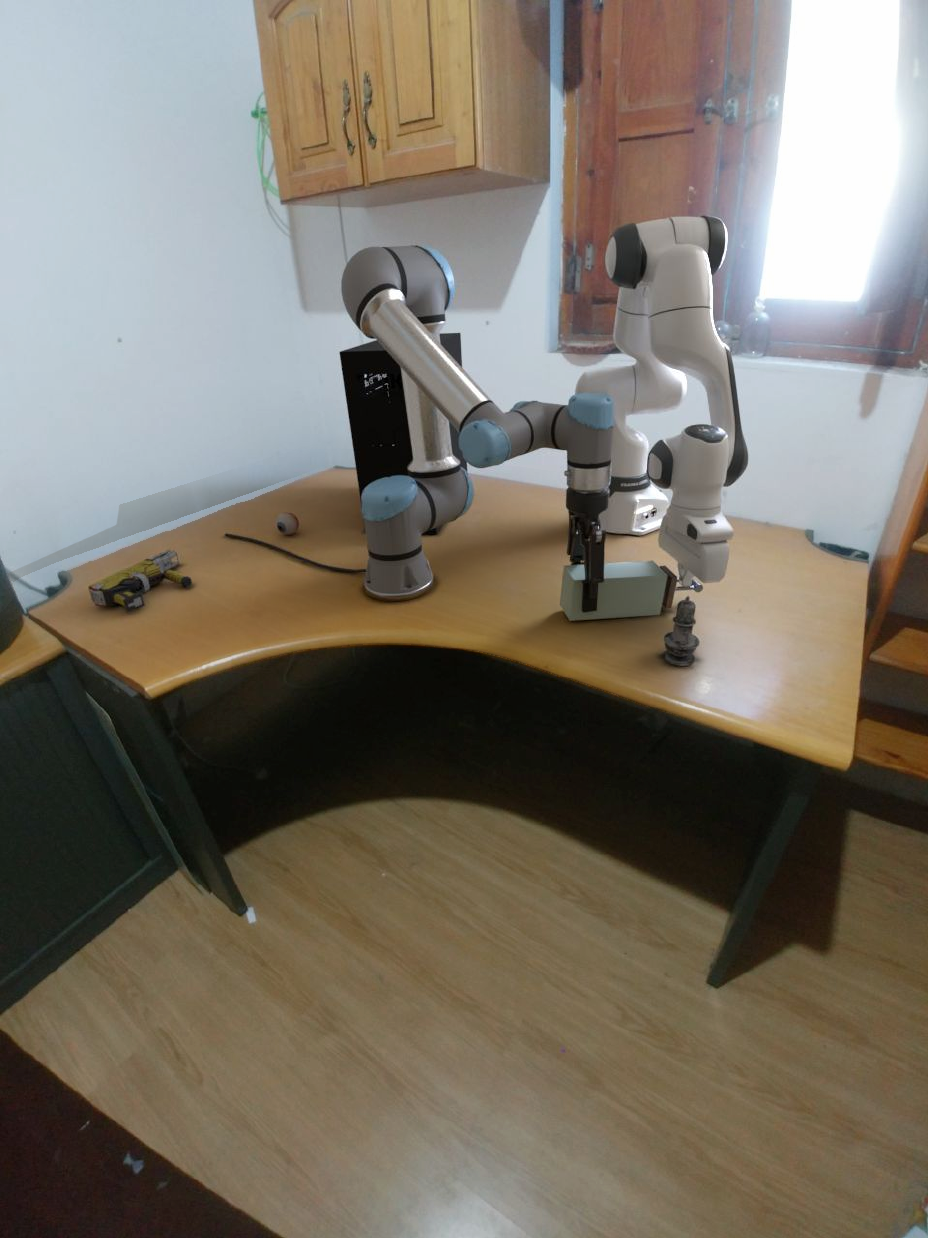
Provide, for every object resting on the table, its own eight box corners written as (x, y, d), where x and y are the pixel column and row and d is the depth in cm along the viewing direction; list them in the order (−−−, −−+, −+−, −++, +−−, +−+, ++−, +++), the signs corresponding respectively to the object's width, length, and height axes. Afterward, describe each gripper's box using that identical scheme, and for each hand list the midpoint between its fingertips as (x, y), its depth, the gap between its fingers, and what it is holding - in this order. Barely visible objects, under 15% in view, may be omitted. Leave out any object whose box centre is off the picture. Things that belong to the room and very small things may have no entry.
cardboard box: (436, 534, 159) (422, 349, 137) (364, 531, 164) (339, 351, 141) (468, 489, 191) (460, 332, 168) (407, 487, 195) (391, 335, 173)
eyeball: (273, 537, 164) (268, 516, 161) (287, 528, 169) (282, 508, 166) (291, 539, 161) (286, 518, 158) (305, 530, 166) (301, 510, 163)
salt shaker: (698, 668, 101) (709, 605, 95) (662, 665, 103) (670, 603, 97) (694, 649, 106) (704, 588, 100) (659, 647, 108) (667, 587, 102)
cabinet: (645, 599, 124) (652, 560, 119) (659, 614, 118) (667, 575, 114) (559, 604, 121) (563, 565, 117) (569, 620, 115) (574, 580, 111)
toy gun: (215, 558, 145) (165, 547, 149) (137, 600, 125) (81, 586, 129) (218, 575, 148) (168, 564, 152) (142, 619, 128) (87, 605, 131)
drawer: (687, 593, 124) (693, 563, 120) (700, 606, 119) (707, 575, 116) (578, 600, 121) (582, 569, 117) (587, 613, 116) (591, 582, 113)
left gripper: (551, 473, 114) (550, 582, 126) (585, 507, 97) (580, 629, 109) (589, 469, 115) (584, 577, 127) (630, 502, 98) (620, 624, 110)
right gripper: (654, 502, 120) (647, 566, 127) (704, 537, 103) (694, 609, 109) (683, 499, 121) (676, 563, 128) (739, 534, 103) (727, 606, 110)
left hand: (582, 601), depth 118 cm, fingers closed on cabinet, 7 cm apart
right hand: (684, 585), depth 118 cm, fingers closed, pressing on drawer
